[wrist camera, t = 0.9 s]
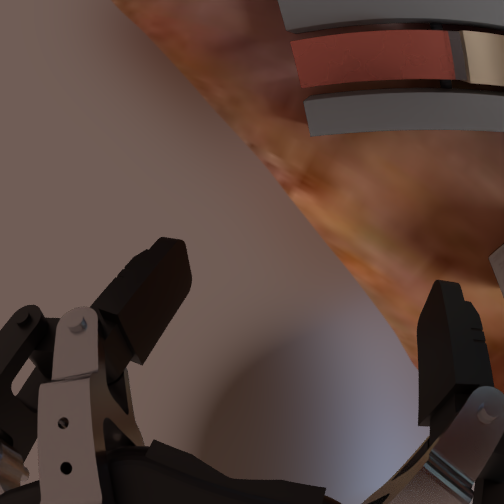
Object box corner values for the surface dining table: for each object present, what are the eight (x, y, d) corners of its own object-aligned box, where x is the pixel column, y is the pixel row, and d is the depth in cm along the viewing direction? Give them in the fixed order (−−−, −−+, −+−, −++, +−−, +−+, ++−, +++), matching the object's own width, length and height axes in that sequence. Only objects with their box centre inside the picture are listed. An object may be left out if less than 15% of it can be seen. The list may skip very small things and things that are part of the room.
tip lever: (539, 39, 12) (586, 43, 6) (545, 96, 15) (591, 116, 9) (306, 33, 21) (285, 24, 15) (320, 92, 24) (305, 105, 18)
